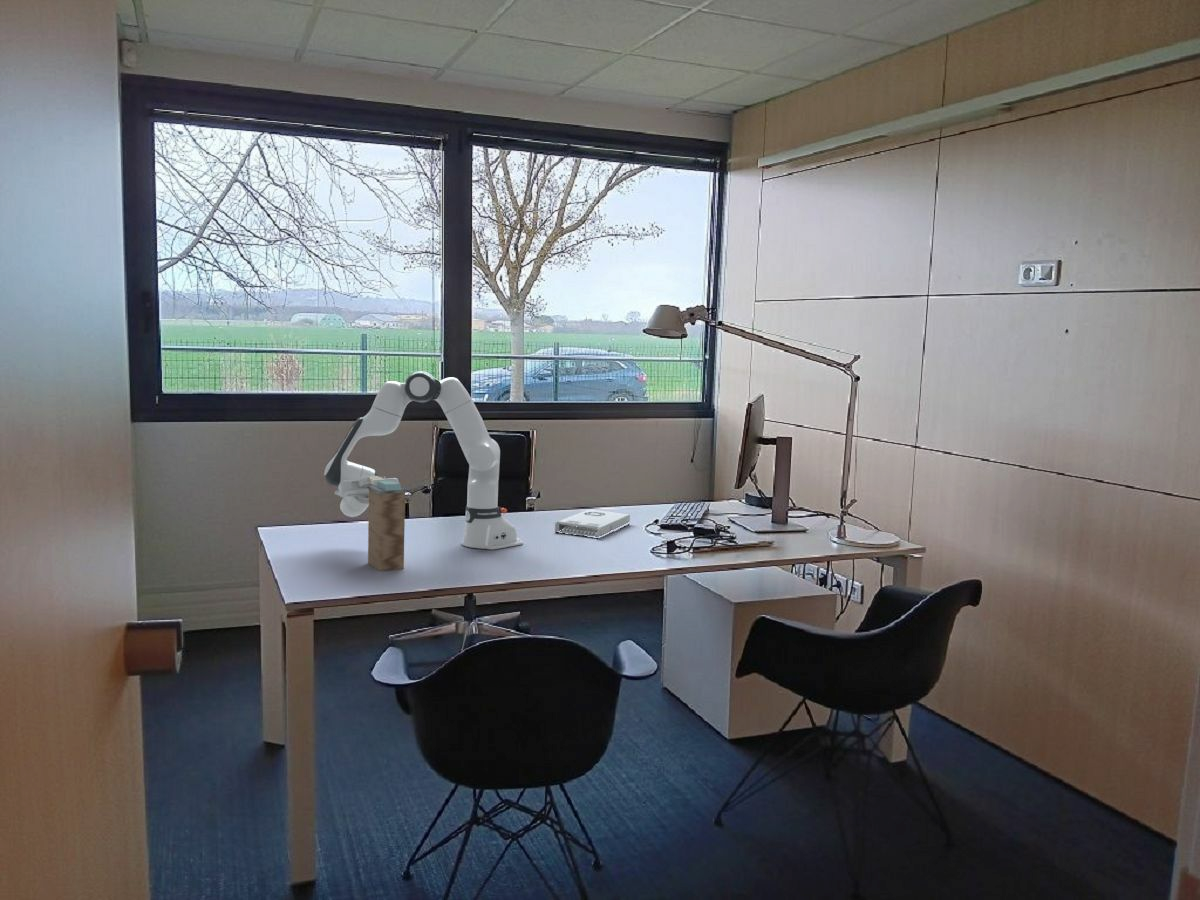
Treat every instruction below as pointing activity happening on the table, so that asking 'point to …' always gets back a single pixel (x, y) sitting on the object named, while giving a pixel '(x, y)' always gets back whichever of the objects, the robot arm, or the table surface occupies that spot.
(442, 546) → the table surface
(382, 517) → the walnut stand
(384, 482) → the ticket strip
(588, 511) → the power supply unit
